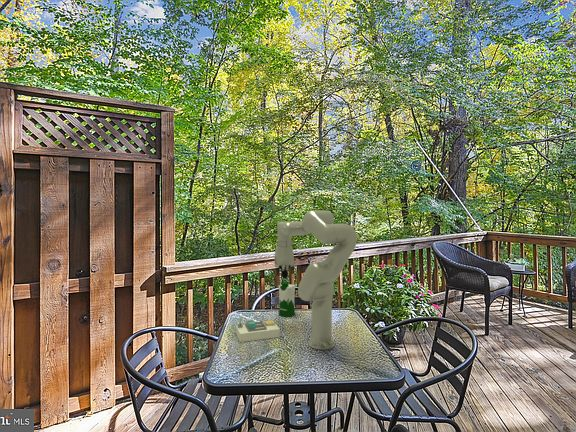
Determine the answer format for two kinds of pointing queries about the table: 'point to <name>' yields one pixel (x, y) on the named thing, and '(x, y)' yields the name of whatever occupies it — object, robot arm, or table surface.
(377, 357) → the table surface
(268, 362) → the table surface
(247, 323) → the slider grey
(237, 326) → the panel
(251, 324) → the slider teal
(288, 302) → the milk carton
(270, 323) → the button
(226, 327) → the table surface
